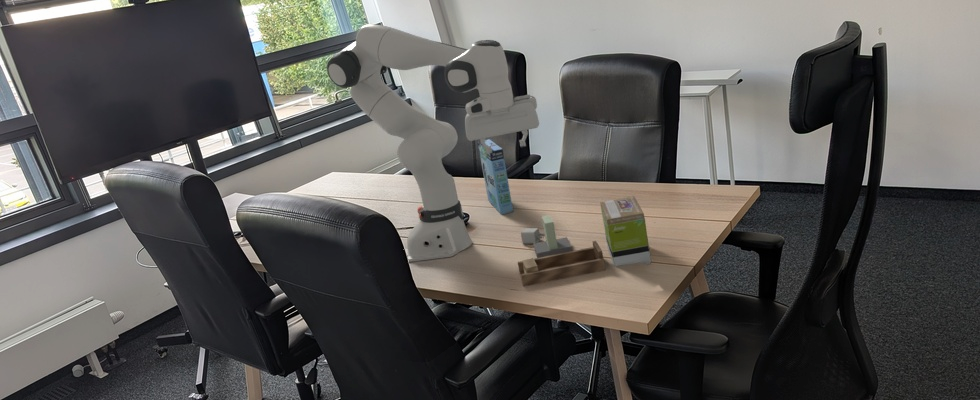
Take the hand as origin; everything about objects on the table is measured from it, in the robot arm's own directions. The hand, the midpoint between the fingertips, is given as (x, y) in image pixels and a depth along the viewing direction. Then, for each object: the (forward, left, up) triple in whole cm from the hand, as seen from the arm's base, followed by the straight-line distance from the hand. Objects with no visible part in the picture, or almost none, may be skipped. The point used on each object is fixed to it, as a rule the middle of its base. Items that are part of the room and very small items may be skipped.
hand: (506, 149), depth 205 cm
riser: (+8, 0, -33) cm, 34 cm away
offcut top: (0, -15, -30) cm, 34 cm away
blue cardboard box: (-3, +56, -33) cm, 65 cm away
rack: (+8, -15, -33) cm, 37 cm away
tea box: (+27, -12, -33) cm, 45 cm away
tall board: (+8, 0, -30) cm, 31 cm away
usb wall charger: (+4, +13, -33) cm, 36 cm away
